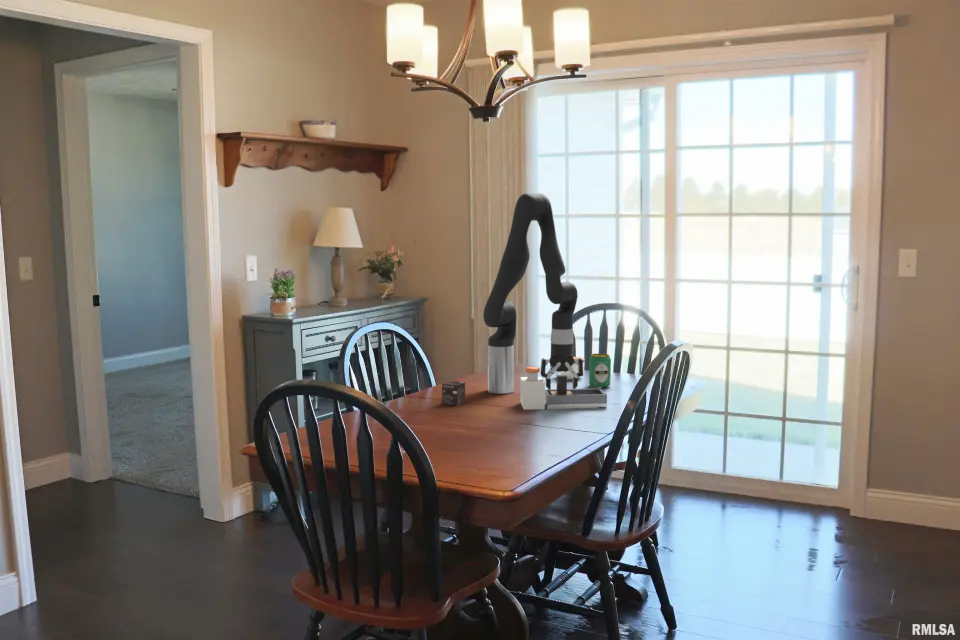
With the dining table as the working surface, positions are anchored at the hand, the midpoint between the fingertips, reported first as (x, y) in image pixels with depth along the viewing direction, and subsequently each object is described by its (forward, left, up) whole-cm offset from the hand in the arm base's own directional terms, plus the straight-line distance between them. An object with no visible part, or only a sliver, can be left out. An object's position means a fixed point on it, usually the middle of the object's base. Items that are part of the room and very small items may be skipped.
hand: (561, 388), depth 279 cm
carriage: (0, 0, -4) cm, 4 cm away
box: (-36, +6, -6) cm, 37 cm away
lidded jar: (+12, +47, -6) cm, 49 cm away
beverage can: (+20, +30, -6) cm, 36 cm away
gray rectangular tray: (+5, 0, -6) cm, 7 cm away
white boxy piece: (-10, 0, -6) cm, 12 cm away
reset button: (-10, 0, +3) cm, 10 cm away
